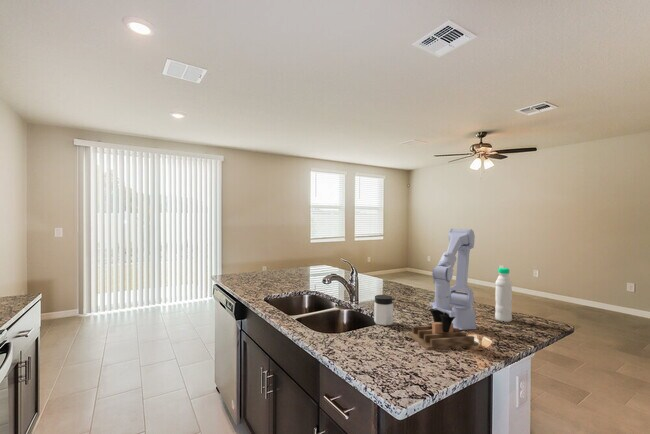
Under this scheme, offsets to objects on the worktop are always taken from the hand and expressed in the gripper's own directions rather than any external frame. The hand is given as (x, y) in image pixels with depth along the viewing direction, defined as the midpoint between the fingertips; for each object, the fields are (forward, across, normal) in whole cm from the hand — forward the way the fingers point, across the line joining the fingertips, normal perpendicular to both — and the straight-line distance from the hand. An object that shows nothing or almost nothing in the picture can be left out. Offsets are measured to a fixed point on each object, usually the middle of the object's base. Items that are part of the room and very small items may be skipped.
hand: (441, 329), depth 126 cm
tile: (+3, 0, 0) cm, 3 cm away
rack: (+4, 0, 0) cm, 4 cm away
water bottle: (+4, -17, +44) cm, 47 cm away
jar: (+4, -24, -15) cm, 29 cm away
